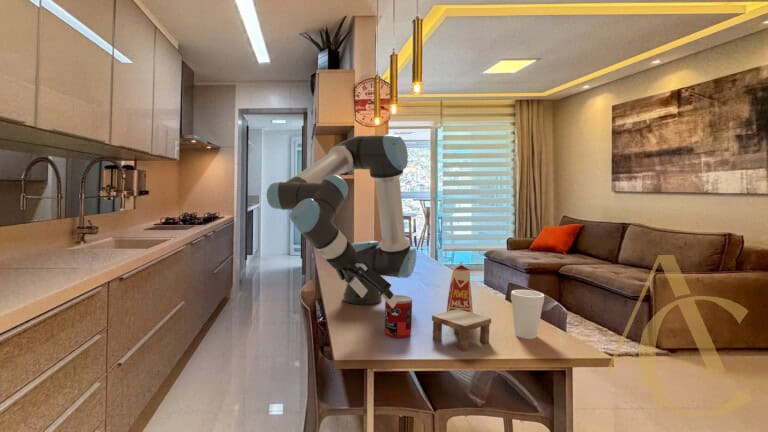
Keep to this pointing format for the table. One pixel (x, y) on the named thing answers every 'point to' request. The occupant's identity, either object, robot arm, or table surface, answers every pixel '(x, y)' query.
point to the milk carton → (460, 290)
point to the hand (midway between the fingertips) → (379, 298)
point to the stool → (461, 325)
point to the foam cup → (526, 312)
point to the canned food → (398, 318)
